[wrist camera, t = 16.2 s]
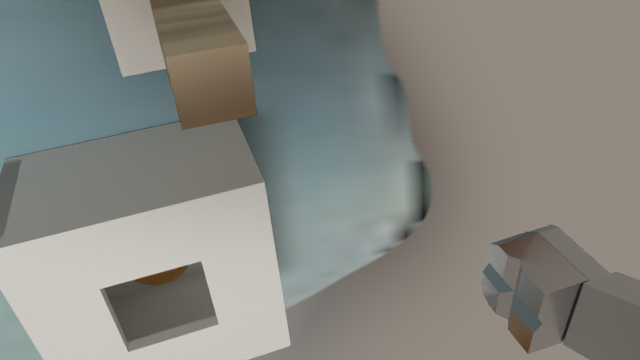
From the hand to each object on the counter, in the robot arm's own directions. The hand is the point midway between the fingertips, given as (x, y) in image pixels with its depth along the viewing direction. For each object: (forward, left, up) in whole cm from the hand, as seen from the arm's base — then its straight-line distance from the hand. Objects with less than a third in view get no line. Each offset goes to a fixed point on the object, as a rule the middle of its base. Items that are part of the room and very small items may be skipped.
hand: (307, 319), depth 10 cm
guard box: (+15, -5, -25) cm, 29 cm away
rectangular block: (0, 0, -24) cm, 24 cm away
